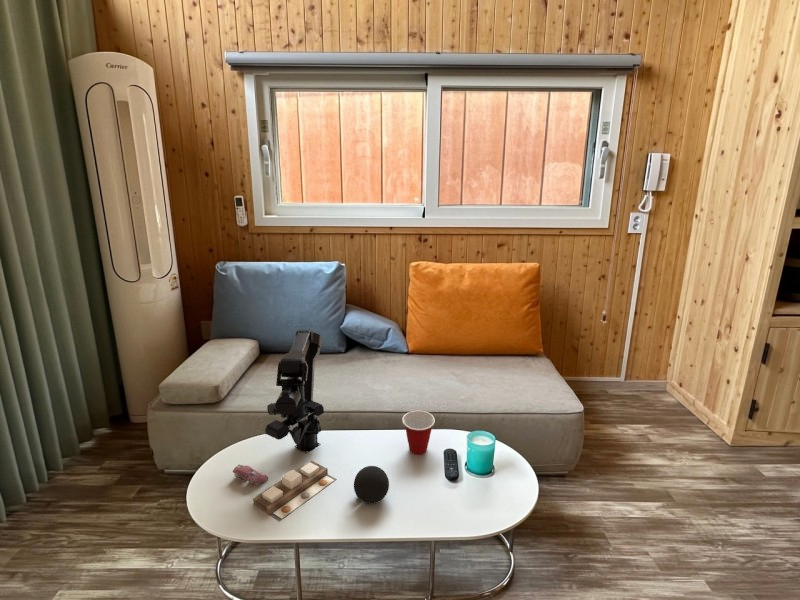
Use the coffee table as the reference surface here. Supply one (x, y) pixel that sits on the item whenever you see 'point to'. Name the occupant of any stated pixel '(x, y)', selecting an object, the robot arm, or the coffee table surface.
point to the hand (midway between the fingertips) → (297, 443)
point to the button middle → (291, 479)
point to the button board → (295, 493)
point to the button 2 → (309, 469)
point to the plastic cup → (418, 430)
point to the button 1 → (272, 494)
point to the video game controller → (249, 474)
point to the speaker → (371, 484)
